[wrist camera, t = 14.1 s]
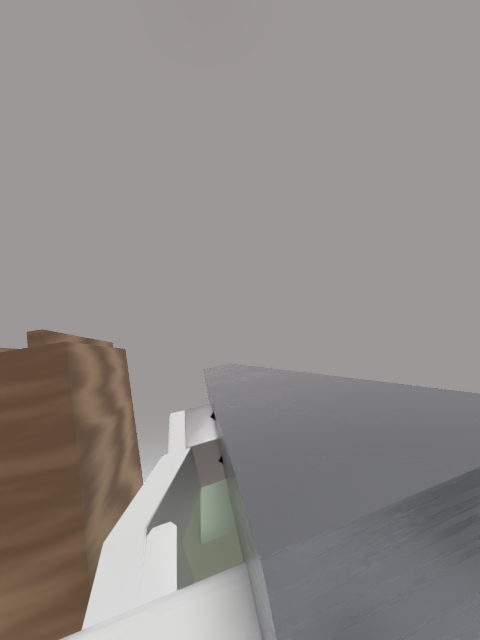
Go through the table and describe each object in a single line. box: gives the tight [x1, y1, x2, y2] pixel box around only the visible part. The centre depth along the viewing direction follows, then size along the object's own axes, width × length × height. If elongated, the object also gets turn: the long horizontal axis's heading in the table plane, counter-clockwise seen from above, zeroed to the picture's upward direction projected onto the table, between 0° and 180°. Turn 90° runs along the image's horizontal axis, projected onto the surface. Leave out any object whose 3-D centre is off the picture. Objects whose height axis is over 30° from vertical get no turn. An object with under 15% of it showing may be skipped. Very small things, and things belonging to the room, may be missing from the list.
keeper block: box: [182, 479, 244, 583], centre depth 13 cm, size 12×8×17 cm, turn 11°
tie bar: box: [204, 364, 480, 640], centre depth 12 cm, size 23×3×3 cm, turn 10°
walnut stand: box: [0, 330, 143, 640], centre depth 21 cm, size 14×10×27 cm
